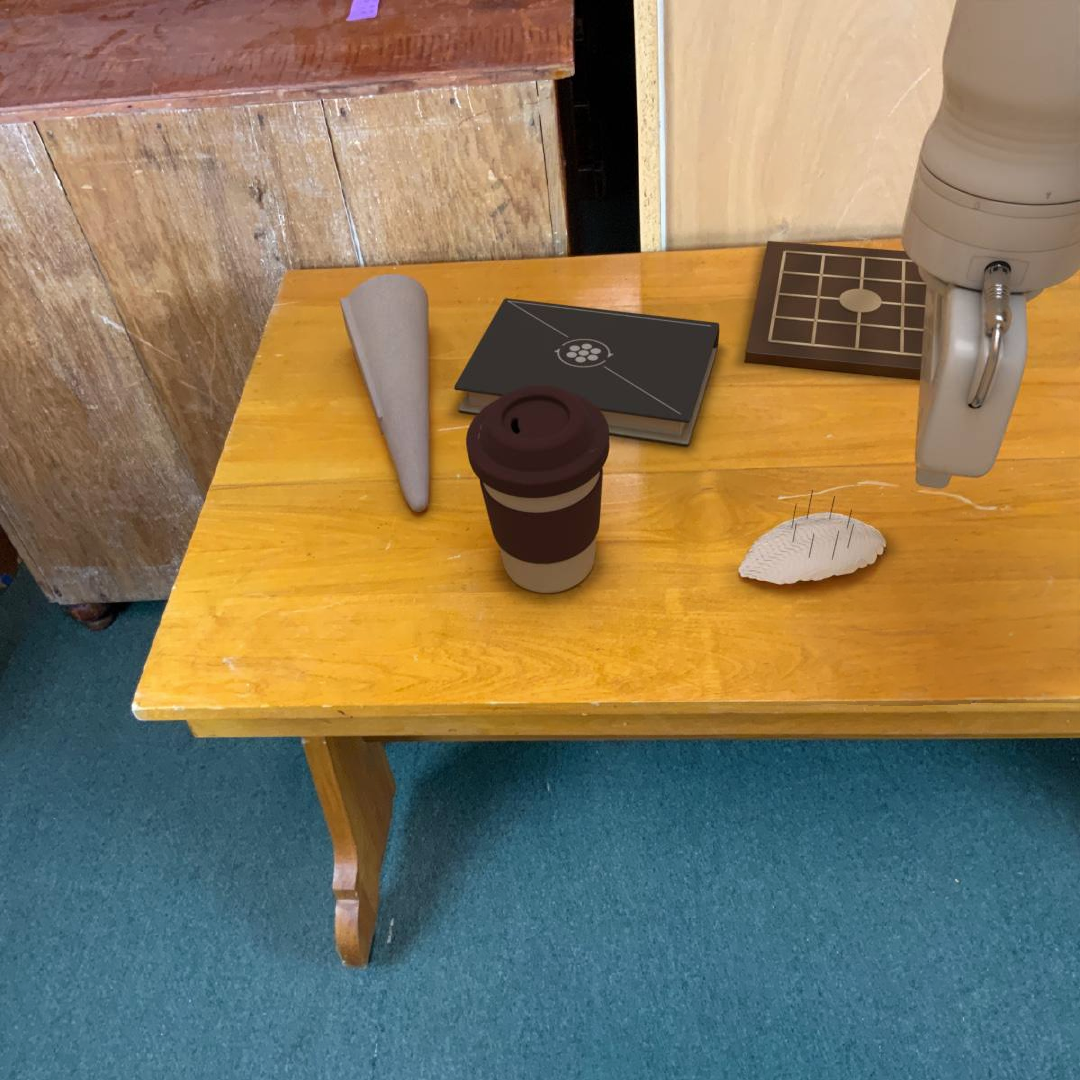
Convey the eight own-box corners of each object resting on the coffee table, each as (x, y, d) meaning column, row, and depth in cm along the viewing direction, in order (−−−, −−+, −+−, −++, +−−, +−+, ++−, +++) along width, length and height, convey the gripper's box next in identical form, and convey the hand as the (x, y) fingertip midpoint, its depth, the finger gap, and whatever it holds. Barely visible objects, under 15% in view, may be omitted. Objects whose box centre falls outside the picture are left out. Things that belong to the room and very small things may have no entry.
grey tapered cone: (505, 455, 78) (423, 265, 92) (402, 483, 76) (335, 284, 91) (509, 514, 84) (431, 327, 98) (413, 540, 82) (349, 346, 97)
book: (718, 346, 93) (720, 320, 91) (688, 447, 83) (690, 421, 81) (507, 321, 98) (505, 296, 96) (457, 412, 89) (453, 387, 87)
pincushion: (754, 608, 71) (762, 558, 67) (724, 550, 75) (729, 499, 71) (903, 571, 72) (920, 520, 68) (865, 516, 77) (879, 464, 72)
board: (961, 265, 99) (965, 253, 98) (967, 384, 86) (971, 373, 86) (766, 250, 104) (767, 239, 103) (744, 362, 91) (745, 350, 90)
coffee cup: (631, 535, 77) (631, 388, 66) (580, 626, 71) (570, 481, 60) (522, 502, 80) (504, 357, 69) (464, 586, 75) (435, 442, 63)
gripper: (1082, 346, 40) (989, 561, 50) (1058, 129, 53) (988, 335, 63) (924, 328, 42) (865, 540, 52) (938, 121, 55) (889, 323, 65)
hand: (933, 426), depth 58 cm, fingers open, 8 cm apart
